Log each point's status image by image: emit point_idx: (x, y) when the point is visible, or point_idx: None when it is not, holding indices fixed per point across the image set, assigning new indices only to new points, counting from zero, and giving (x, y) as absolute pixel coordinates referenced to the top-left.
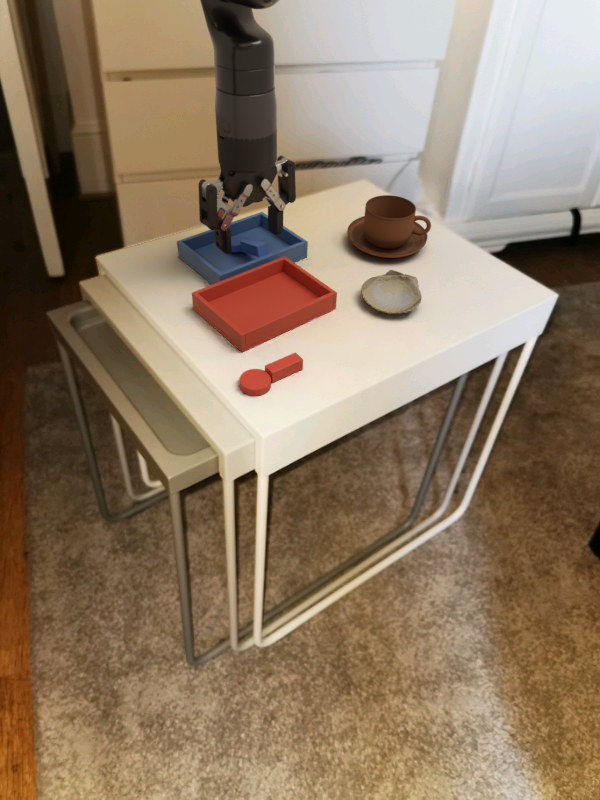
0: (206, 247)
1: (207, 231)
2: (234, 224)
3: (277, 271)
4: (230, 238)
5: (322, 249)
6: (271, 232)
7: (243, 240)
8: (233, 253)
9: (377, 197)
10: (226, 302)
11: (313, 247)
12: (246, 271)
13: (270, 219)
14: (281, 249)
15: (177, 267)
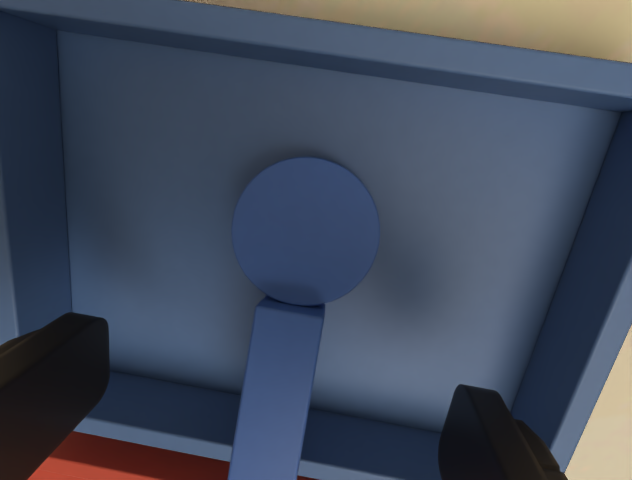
0: (196, 69)
1: (197, 17)
2: (426, 69)
3: None
4: (27, 475)
5: (608, 453)
6: (450, 405)
7: (272, 321)
8: None
9: None
10: None
11: (599, 419)
12: (123, 475)
13: (484, 476)
14: (382, 478)
15: None
